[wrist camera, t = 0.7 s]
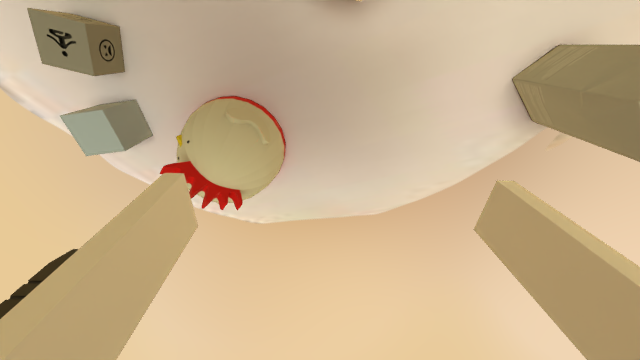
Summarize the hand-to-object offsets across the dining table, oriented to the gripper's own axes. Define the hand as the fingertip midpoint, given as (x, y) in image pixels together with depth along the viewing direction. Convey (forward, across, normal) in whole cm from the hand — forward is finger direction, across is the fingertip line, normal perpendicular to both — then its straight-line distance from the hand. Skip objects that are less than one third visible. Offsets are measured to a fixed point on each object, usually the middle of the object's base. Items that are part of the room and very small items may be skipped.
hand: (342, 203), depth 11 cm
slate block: (+26, -27, -5) cm, 37 cm away
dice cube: (+26, -27, +5) cm, 38 cm away
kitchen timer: (+26, -12, -8) cm, 29 cm away
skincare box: (+26, +30, +2) cm, 40 cm away
